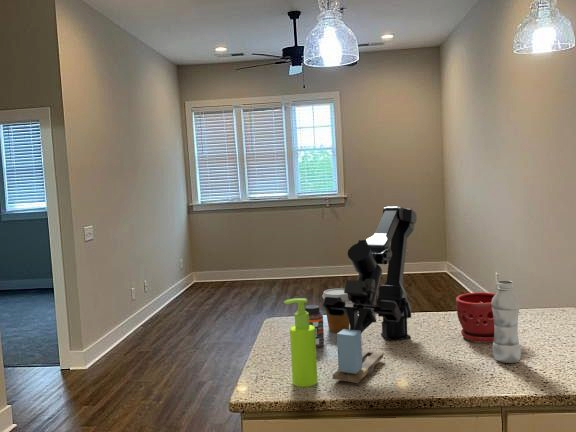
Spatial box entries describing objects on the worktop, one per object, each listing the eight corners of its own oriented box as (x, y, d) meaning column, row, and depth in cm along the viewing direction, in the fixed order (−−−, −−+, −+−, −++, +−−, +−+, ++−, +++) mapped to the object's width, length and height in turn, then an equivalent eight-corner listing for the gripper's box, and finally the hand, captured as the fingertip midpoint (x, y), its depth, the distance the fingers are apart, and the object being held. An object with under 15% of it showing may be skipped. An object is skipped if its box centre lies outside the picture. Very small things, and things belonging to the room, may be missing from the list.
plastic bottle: (509, 368, 125) (507, 286, 123) (486, 360, 131) (484, 281, 129) (527, 362, 128) (525, 282, 126) (504, 354, 134) (502, 278, 132)
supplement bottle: (322, 348, 146) (321, 309, 145) (301, 348, 147) (299, 309, 146) (325, 342, 151) (323, 303, 151) (305, 341, 153) (303, 303, 152)
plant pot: (480, 328, 157) (479, 289, 156) (516, 340, 145) (515, 297, 144) (447, 336, 151) (445, 295, 150) (481, 349, 139) (480, 305, 138)
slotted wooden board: (360, 357, 137) (360, 349, 137) (383, 361, 134) (383, 352, 134) (332, 383, 121) (332, 374, 121) (358, 387, 118) (357, 378, 118)
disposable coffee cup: (336, 323, 170) (335, 286, 169) (360, 328, 163) (358, 290, 162) (317, 330, 163) (315, 292, 162) (341, 335, 156) (339, 296, 155)
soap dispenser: (287, 378, 126) (283, 297, 124) (315, 376, 126) (311, 295, 125) (289, 388, 120) (284, 303, 118) (319, 385, 120) (315, 300, 119)
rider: (345, 370, 126) (343, 328, 125) (362, 372, 123) (360, 330, 123) (338, 376, 122) (336, 333, 121) (356, 378, 120) (354, 335, 119)
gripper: (323, 264, 132) (306, 318, 123) (395, 267, 123) (381, 326, 114) (337, 288, 140) (322, 341, 131) (406, 293, 130) (394, 349, 122)
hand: (353, 339), depth 124 cm, fingers closed
